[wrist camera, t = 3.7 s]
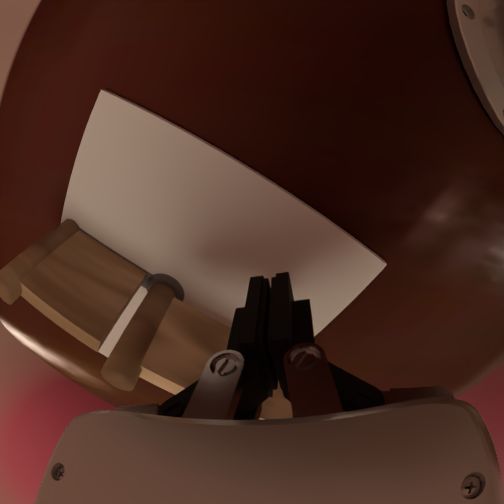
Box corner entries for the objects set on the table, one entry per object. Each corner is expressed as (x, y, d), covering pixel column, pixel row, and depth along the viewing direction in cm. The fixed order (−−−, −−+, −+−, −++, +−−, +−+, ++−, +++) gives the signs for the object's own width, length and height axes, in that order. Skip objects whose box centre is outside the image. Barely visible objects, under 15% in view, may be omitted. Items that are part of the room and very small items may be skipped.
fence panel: (146, 296, 16) (99, 377, 10) (154, 278, 15) (103, 362, 9) (294, 371, 18) (293, 454, 12) (310, 359, 17) (313, 446, 11)
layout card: (105, 89, 11) (100, 89, 10) (384, 260, 14) (387, 265, 13) (53, 316, 19) (51, 319, 19) (219, 408, 22) (219, 412, 22)
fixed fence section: (64, 214, 14) (-9, 269, 8) (148, 269, 15) (93, 351, 10) (61, 234, 15) (-6, 291, 9) (140, 287, 16) (89, 367, 10)
